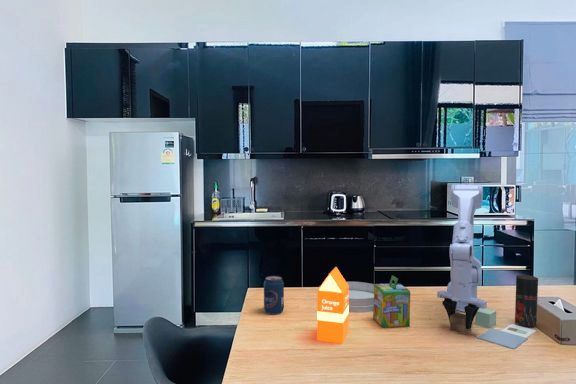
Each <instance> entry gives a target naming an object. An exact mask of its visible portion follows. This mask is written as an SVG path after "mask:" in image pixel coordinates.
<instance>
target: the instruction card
mask: <svg viewBox="0 0 576 384" xmlns="http://www.w3.org/2000/svg"><path fill="white" fill-rule="evenodd" d="M500 331H504V332H507V333H511V334H514V335H518V336H522V337H525V338H528V337H530V336H532V335H533V334H534V333H536V332H537V330H536V329H533V328H527V327H522V326H519V325H517V324H514V323H512V324H511V323H510V324H509V325H507V326H506V327H505V328H503V329H501V330H500Z"/></svg>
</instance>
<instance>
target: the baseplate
mask: <svg viewBox="0 0 576 384" xmlns="http://www.w3.org/2000/svg"><path fill="white" fill-rule="evenodd" d="M477 339H479V340H482V341H485V342H489V343H492V344H494V345H495V344H496V345H499V346H502V347H505V348H508V349H512V350H515V349H517V348H518V347H519V346H521V345H522V344H523V343H525V342H526V341H527V340H528V337H527V338H525V337H522V336H518V335H514V334H511V333H507V332H504V331H501V330H499V329H495V328H493V327H491V328H489V329H488V330H487V331H485V332H484V333H481V334H480V335H478V336H477Z"/></svg>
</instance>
